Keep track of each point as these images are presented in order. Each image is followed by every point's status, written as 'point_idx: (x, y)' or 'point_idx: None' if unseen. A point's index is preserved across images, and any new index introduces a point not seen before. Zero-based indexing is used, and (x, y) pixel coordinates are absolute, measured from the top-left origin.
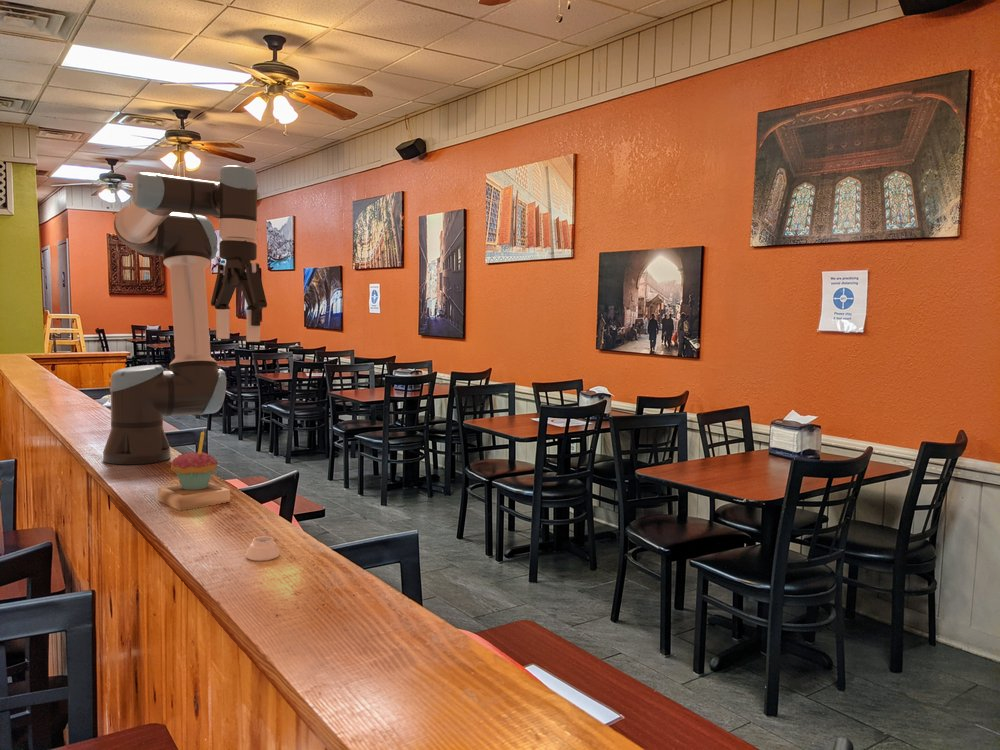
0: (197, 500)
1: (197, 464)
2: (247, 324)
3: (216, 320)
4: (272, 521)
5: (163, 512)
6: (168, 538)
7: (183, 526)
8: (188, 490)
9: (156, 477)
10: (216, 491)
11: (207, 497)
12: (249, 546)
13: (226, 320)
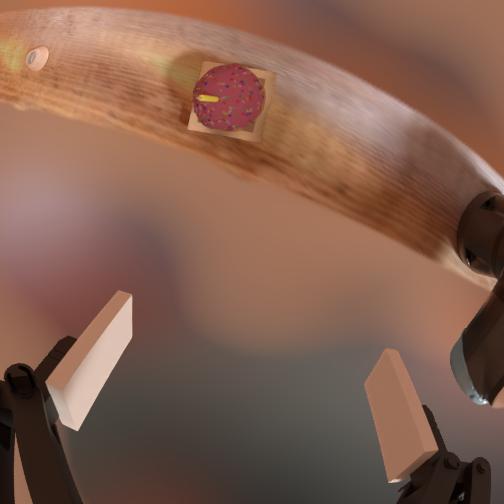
0: None
1: (198, 84)
2: (89, 336)
3: (420, 406)
4: (94, 115)
5: (217, 49)
6: (129, 14)
7: (149, 38)
8: None
9: (396, 166)
10: (194, 111)
11: None
12: (40, 48)
13: (386, 433)
